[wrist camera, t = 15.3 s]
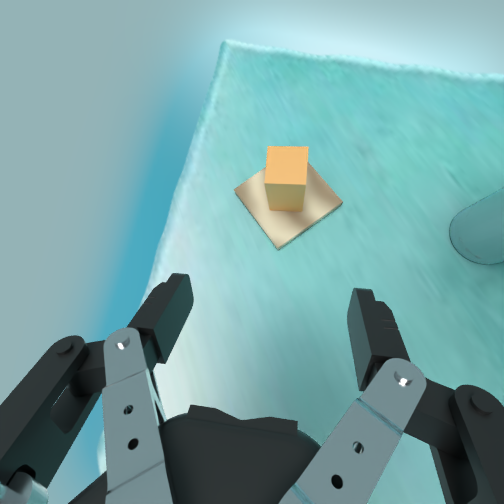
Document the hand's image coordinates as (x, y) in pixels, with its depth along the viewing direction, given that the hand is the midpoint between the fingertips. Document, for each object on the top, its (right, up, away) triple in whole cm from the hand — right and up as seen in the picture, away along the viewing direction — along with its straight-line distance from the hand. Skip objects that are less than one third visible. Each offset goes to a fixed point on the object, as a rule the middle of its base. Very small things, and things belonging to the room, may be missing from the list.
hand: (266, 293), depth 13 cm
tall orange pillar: (+5, +11, +32) cm, 34 cm away
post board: (+5, +11, +33) cm, 35 cm away
